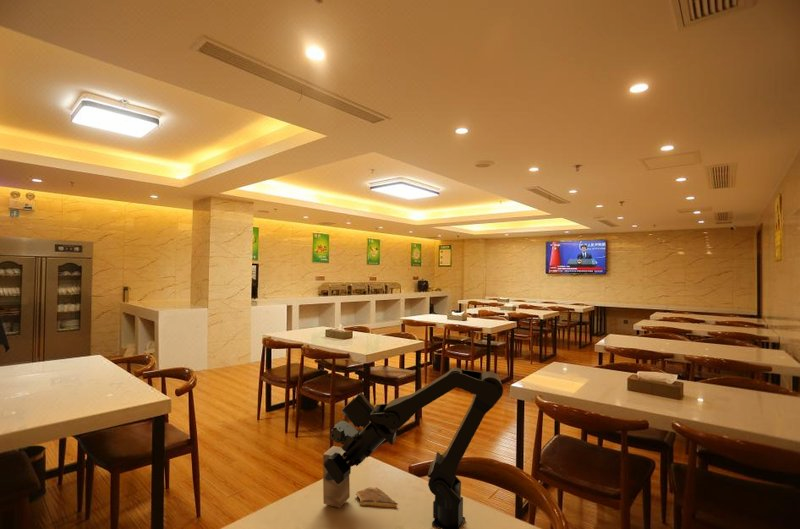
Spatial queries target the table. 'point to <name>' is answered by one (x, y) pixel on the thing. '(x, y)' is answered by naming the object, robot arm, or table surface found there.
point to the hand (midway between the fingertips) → (331, 474)
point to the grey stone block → (331, 490)
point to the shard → (375, 497)
